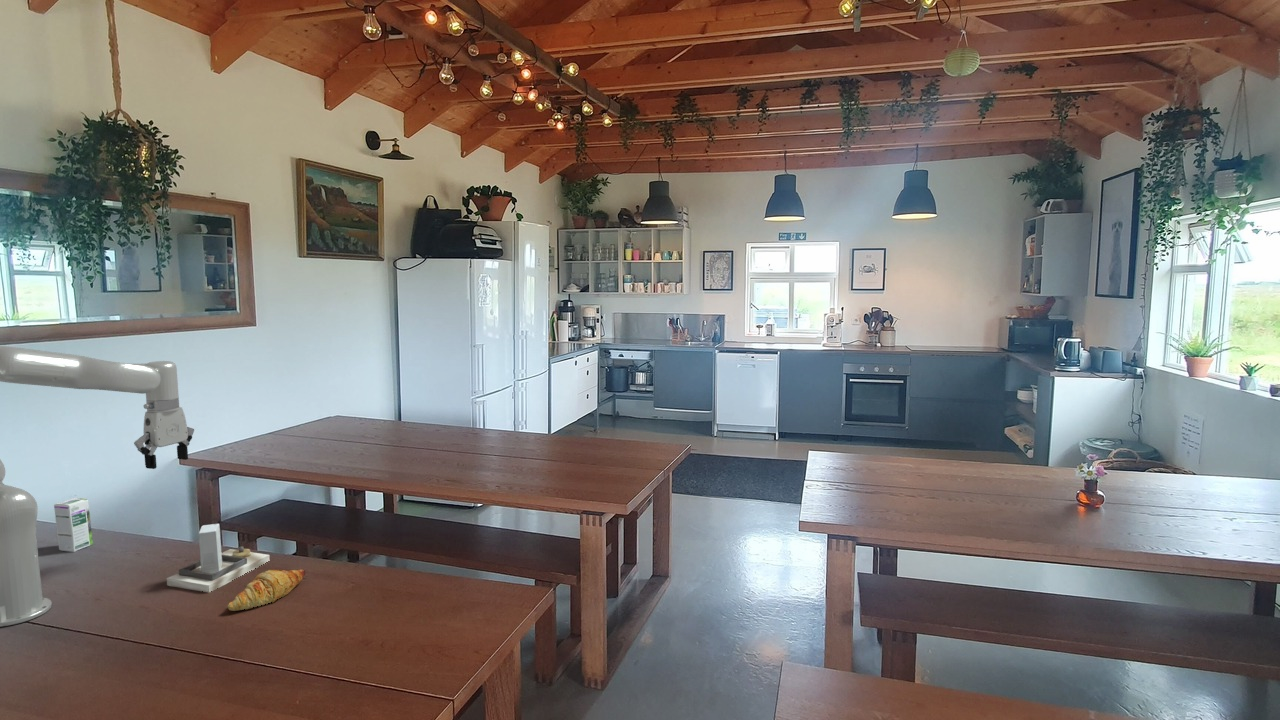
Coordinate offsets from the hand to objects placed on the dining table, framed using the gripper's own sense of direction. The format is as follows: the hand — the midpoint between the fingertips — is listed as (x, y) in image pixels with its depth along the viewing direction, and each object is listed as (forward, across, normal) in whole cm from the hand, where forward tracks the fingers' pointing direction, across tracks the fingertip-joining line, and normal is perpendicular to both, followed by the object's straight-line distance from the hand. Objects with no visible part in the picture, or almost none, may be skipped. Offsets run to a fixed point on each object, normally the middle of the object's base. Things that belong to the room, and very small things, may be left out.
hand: (167, 463), depth 191 cm
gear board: (+28, -4, -21) cm, 35 cm away
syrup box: (+28, -3, +34) cm, 44 cm away
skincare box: (+26, -6, -21) cm, 34 cm away
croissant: (+29, -11, -44) cm, 53 cm away
